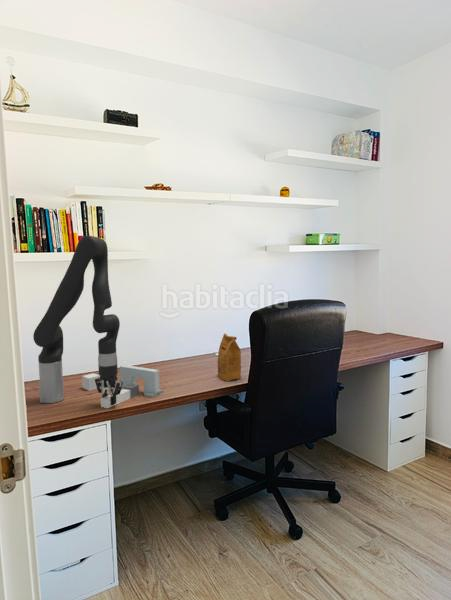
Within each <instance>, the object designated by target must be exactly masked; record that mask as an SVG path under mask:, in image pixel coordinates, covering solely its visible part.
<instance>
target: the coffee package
mask: <svg viewBox="0 0 451 600" xmlns="http://www.w3.org/2000/svg"><path fill="white" fill-rule="evenodd" d="M236 340H237V336H229V335H228V334H227V333H223V336H222V339H221V341H220V343H219V348H218V355H217V377H218V378H220V380H223V381H225V380H226V381H225V382H230V381H232V380H239V379H241V378H242V377H241V376H242V373H241V372H242V364H241V362H242V351H241V349H240V346H239V345H238V342H237V341H236Z"/></svg>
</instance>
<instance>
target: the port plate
mask: <svg viewBox="0 0 451 600" xmlns="http://www.w3.org/2000/svg"><path fill="white" fill-rule="evenodd" d="M119 376H120V381H119V382H121V381H122V382H123V385H122V388H121V390H123V387H124V386H127V385H129V384H135V385H137V381H136V380H137V379H143V381H142V382H143V395H144V397H146V398H151V399H152V398H155V397H156V396H158V395H161V394H163V393H164V390H163V389H160V370H159V369H153V368H147V367H141V366H136V365H135V366H133V365H128V364H123V365H121V366H119ZM136 378H137V379H136Z"/></svg>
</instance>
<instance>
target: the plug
mask: <svg viewBox="0 0 451 600" xmlns="http://www.w3.org/2000/svg"><path fill="white" fill-rule="evenodd" d="M139 395H140V388H139V385H138V384H136V385H135V384H129V385H127V386H124V387H123V390H121V392H120V394H119V395H116V404H117V405H118V404H121V403H123V402H125V401H127V400H129V399H133V398H135V397H137V396H139ZM110 397H111V395H110V394H108V396H106V397H103V398H100V407H101V408H103V407H104V409H107V408H108V409H109V408H112V407H115V406H116V404H115V405H111V398H110Z"/></svg>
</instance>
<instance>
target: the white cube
mask: <svg viewBox="0 0 451 600" xmlns="http://www.w3.org/2000/svg"><path fill="white" fill-rule="evenodd" d="M97 378H100V375H99V374H97V373H90V374H89V373H88V374H84V375H81V379H82V382H81V383H82V389H84V390H87V391H89V392H90V391H94V390H97V386H96V383H95V379H97ZM100 389H101V387H100Z"/></svg>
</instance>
